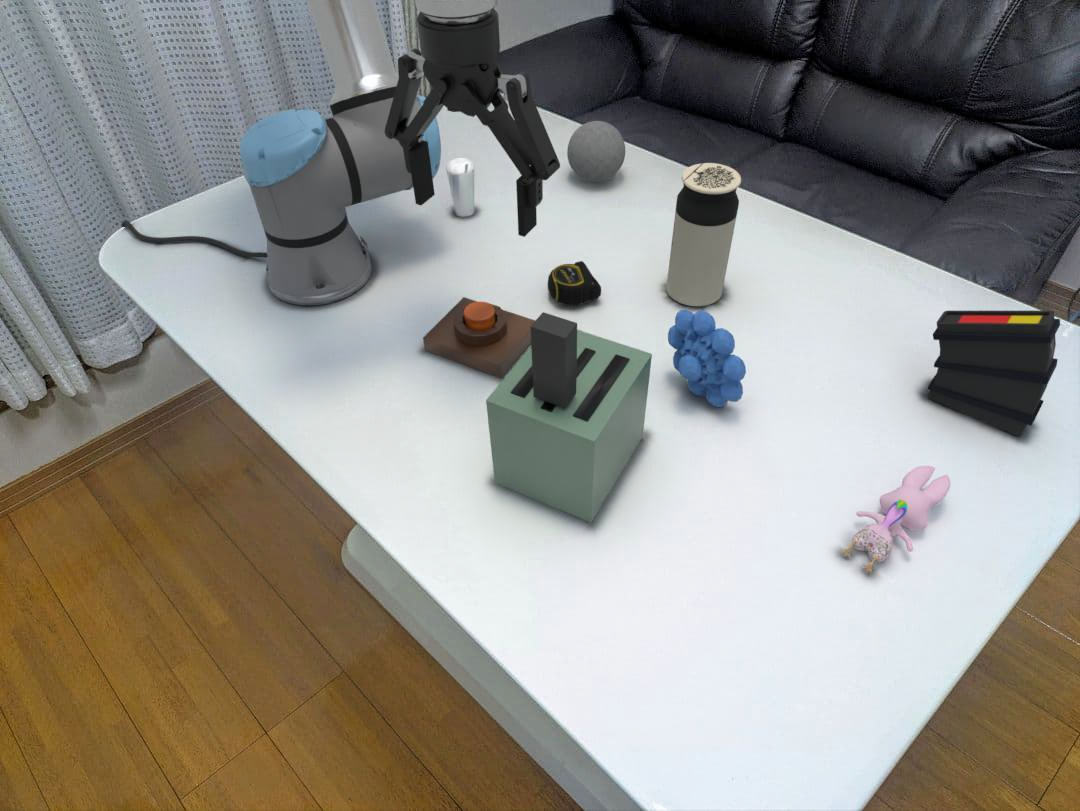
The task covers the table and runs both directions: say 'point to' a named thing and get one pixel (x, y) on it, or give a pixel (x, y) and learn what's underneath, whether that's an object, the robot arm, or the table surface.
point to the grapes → (706, 357)
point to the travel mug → (702, 233)
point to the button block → (480, 339)
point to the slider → (554, 359)
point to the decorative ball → (596, 151)
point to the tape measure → (573, 284)
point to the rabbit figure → (900, 514)
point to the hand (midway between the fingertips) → (475, 214)
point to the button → (479, 315)
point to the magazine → (995, 365)
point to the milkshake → (462, 185)
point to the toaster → (571, 427)
